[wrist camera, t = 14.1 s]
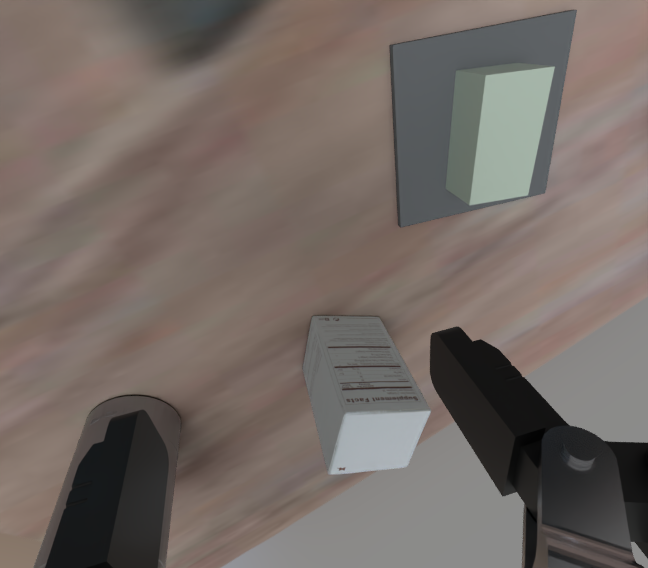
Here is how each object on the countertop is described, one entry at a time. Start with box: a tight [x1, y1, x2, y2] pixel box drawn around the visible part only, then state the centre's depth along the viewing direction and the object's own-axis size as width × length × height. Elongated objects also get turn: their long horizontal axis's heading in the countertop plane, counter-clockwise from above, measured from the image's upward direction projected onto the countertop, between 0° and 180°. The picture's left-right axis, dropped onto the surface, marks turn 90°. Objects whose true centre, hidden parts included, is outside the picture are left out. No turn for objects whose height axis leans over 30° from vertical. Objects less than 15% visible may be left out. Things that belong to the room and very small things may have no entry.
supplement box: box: [303, 316, 431, 474], centre depth 36 cm, size 7×7×13 cm
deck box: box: [446, 63, 555, 205], centre depth 30 cm, size 5×9×4 cm, turn 5°
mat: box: [390, 10, 577, 227], centre depth 32 cm, size 14×14×1 cm
